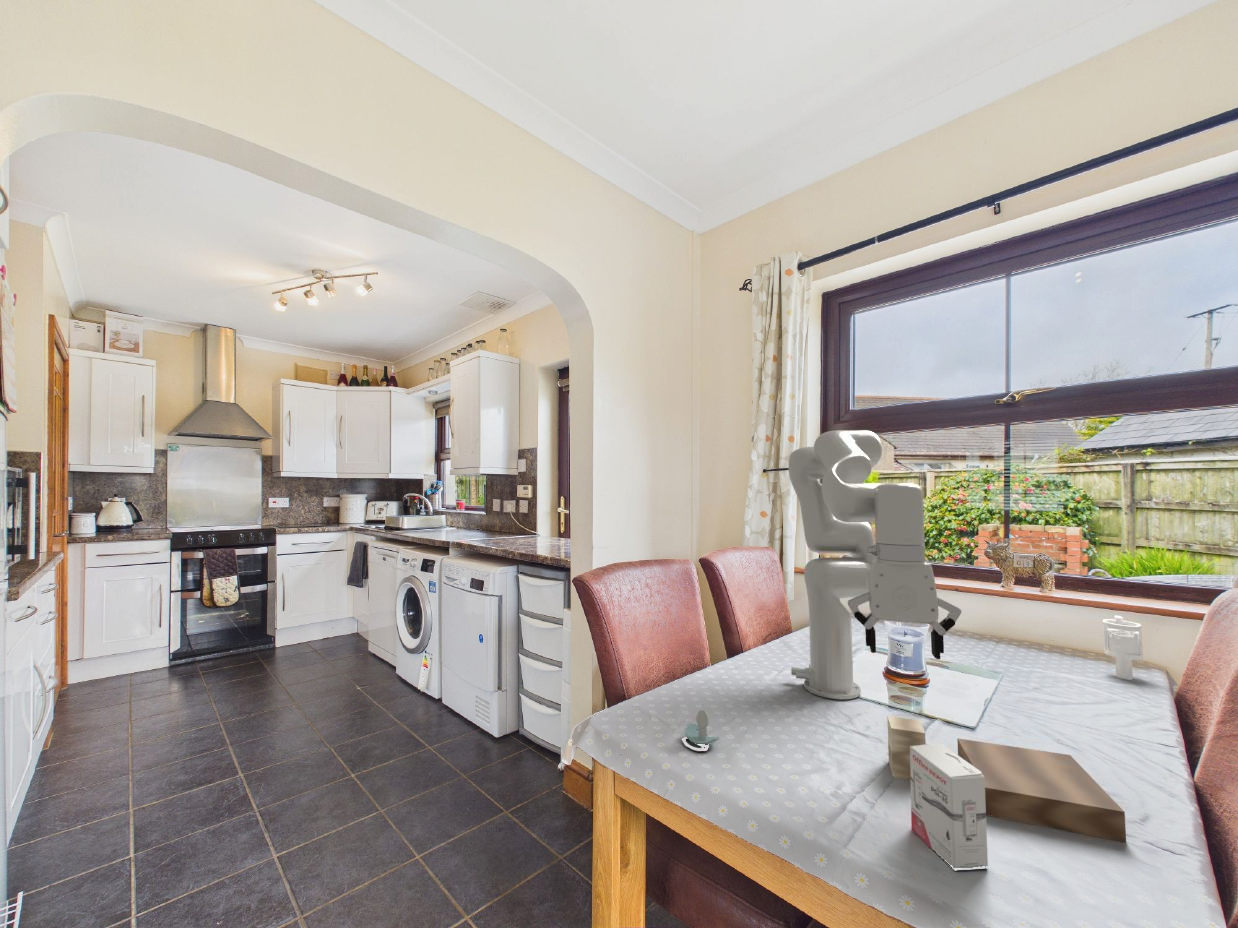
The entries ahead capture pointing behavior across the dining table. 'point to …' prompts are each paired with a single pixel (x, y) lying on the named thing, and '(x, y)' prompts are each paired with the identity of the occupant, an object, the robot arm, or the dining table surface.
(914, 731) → the birch block
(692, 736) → the pacifier
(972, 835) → the ink box
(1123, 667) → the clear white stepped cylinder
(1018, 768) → the walnut base
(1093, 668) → the dining table surface
